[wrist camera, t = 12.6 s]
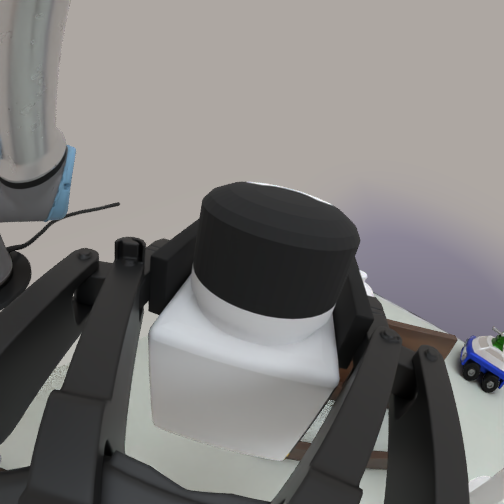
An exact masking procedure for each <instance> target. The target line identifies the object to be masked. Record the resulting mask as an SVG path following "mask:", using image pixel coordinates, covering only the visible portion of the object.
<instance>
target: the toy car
mask: <svg viewBox="0 0 504 504" xmlns="http://www.w3.org/2000/svg"><path fill="white" fill-rule="evenodd" d="M493 330H494V331H496V332H497V333H499V334H500V335H497V337H496V338H495V337H492V336H480V337H475V336H471V337H470V338H469V339H467V340H466V342H465V344H464V347H463V348H462V350H461V355H460V358H461V364H462V365H463V366H464V369H463V376H464V378H465V379H466V380H469V381H471V380H474V379H476V378H477V377H478V376H479V374H480V371H481V372H482V373H484V374H485V375H484V377H483V382H482V388H483V390H484V391H485V392H488V393H489V392H493V391H495V390H496V389H497V387H498V388H499V389H500V388H501V387H502V386H503V385H504V332H500V331H499V330H498V329H496V328H495V327H494V326H493ZM464 364H465V365H464ZM498 385H499V386H498Z"/></svg>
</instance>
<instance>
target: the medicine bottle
mask: <svg viewBox="0 0 504 504" xmlns="http://www.w3.org/2000/svg"><path fill="white" fill-rule="evenodd" d="M359 244H360V237H359V234H358V231H357V228H356V226H355V225H354V224H353V222H351V221H350V219H349V218H348V217H347V216H346V215H345V214H343V212H341V211H340V210H339V209H338V208H336V207H335V206H333V205H332V204H330V203H328V202H326V201H324V200H321V199H319V198H316V197H314V196H312V195H309V194H306V193H303V192H300V191H296V190H293V189H289V188H285V187H281V186H276V185H271V184H265V183H257V182H236V183H232V184H228V185H224V186H221V187H217V188H215V189H213V190H212V191H211V192H210V193H209V194H208V195H206V196H205V197H204V198H203V200H202V206H201V213H200V218H199V225H198V231H197V238H196V245H195V251H194V259H193V266H192V273H191V275H190V276H189V277H188V279H187V280H186V281H185V282H184V284H183V285H182V286H181V288H180V289H179V290H178V292H177V293H176V294H175V296H174V297H173V298H172V299H171V301H170V302H169V303H168V305H167V306H166V307H165V309H164V310H163V311H162V313H161V314H160V315H159V317H158V318H157V320H156V321H155V322H154V323H153V325H152V326H151V328H150V330H149V334H148V344H149V377H150V395H151V409H152V421H153V423H154V425H155V426H156V427H158V428H160V429H163V430H166V431H168V432H171V433H174V434H177V435H179V436H182V437H185V438H188V439H191V440H194V441H198V442H201V443H204V444H207V445H211V446H214V447H218V448H222V449H225V450H229V451H233V452H237V453H242V454H246V455H250V456H255V457H260V458H265V459H270V460H276V461H282V460H284V459H286V458H287V456H288V455H289V454H290V453H291V451H292V450H293V449H294V448H295V446H296V445H297V444H298V442H299V441H300V440H301V438H302V437H303V436H304V434H305V433H306V432H307V430H308V429H309V428H310V426H311V425H312V423H313V422H314V421H315V419H316V418H317V416H318V415H319V414H320V412H321V411H322V409H323V408H324V406H325V405H326V403H327V402H328V400H329V399H330V397H331V396H332V394H333V393H334V391H335V389H336V388H337V386H338V384H339V380H340V377H339V366H338V356H337V346H336V338H335V329H334V321H333V313H332V312H333V310H334V307H335V305H336V303H337V300H338V298H339V295H340V293H341V291H342V288H343V286H344V283H345V281H346V278H347V276H348V273H349V270H350V268H351V265H352V263H353V260H354V257H355V254H356V252H357V249H358V246H359Z"/></svg>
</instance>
